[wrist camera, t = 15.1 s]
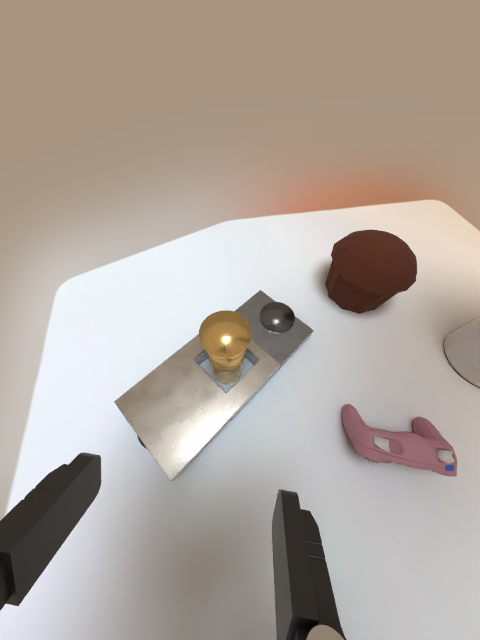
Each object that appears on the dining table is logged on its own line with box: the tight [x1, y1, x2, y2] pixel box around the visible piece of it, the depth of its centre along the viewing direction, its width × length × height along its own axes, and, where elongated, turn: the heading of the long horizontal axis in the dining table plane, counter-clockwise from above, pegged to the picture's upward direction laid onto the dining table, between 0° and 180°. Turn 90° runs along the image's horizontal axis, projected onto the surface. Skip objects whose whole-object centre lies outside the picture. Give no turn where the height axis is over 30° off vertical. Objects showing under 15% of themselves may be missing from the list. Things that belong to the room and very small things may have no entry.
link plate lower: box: [196, 290, 313, 420], centre depth 31 cm, size 17×10×2 cm, turn 135°
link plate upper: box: [114, 334, 280, 481], centre depth 27 cm, size 17×10×3 cm, turn 135°
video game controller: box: [342, 404, 457, 476], centre depth 24 cm, size 10×5×7 cm, turn 80°
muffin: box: [326, 230, 417, 314], centre depth 34 cm, size 12×11×10 cm
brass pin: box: [199, 311, 252, 384], centre depth 26 cm, size 5×5×10 cm
